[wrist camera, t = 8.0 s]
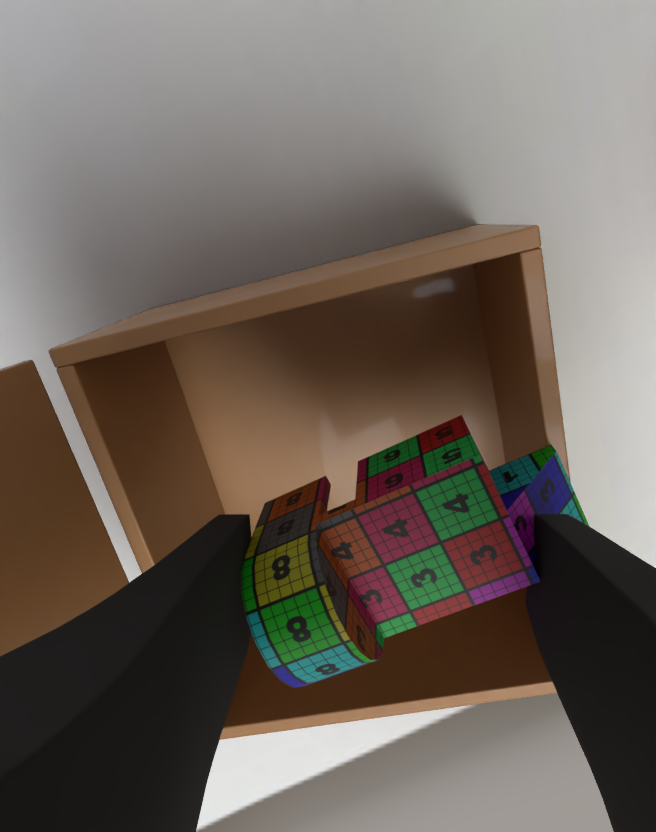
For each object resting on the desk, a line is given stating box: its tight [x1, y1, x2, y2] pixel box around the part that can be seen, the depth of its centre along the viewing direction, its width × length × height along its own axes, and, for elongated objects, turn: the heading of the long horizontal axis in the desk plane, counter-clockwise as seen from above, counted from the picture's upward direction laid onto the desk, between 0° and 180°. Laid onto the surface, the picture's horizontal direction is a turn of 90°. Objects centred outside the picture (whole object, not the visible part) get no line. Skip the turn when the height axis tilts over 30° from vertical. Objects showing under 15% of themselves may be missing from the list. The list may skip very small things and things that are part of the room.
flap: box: [0, 360, 129, 656], centre depth 10 cm, size 5×11×1 cm
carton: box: [49, 224, 570, 740], centre depth 15 cm, size 10×11×5 cm
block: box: [241, 415, 589, 688], centre depth 10 cm, size 6×4×3 cm
